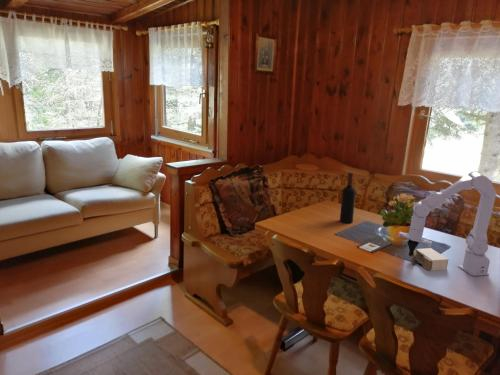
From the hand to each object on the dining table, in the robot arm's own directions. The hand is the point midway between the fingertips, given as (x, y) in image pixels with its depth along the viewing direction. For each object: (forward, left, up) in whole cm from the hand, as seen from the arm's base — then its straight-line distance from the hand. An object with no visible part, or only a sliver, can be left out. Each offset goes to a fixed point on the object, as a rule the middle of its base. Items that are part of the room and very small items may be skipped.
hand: (411, 255), depth 171 cm
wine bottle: (+56, +6, -3) cm, 56 cm away
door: (0, -1, -3) cm, 3 cm away
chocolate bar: (+20, +7, -4) cm, 21 cm away
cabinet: (-3, -8, -3) cm, 9 cm away
